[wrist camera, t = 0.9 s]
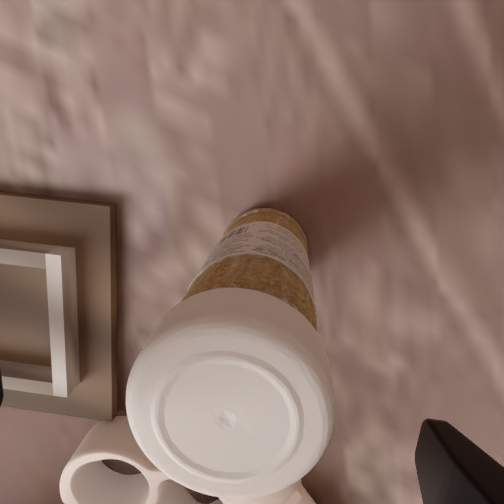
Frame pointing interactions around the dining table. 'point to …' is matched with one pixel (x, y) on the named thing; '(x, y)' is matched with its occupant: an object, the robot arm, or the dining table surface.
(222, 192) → the dining table surface
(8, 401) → the brown flat square frame
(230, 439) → the sprinkles bottle
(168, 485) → the white compartment tray
